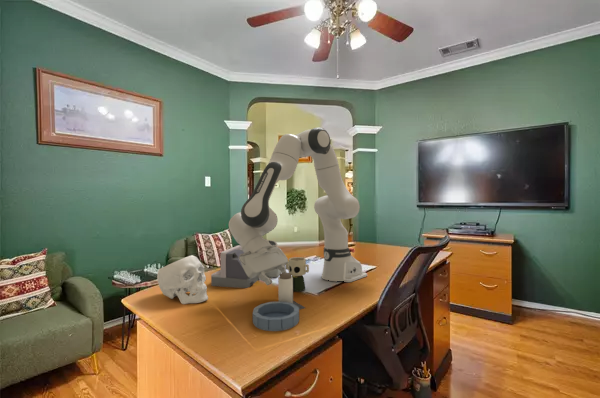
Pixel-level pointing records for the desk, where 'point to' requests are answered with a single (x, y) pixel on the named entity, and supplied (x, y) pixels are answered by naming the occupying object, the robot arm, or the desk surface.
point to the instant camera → (232, 271)
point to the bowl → (276, 316)
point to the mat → (298, 305)
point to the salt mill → (285, 287)
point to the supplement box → (273, 273)
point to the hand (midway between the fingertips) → (278, 280)
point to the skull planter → (184, 280)
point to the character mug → (297, 272)
